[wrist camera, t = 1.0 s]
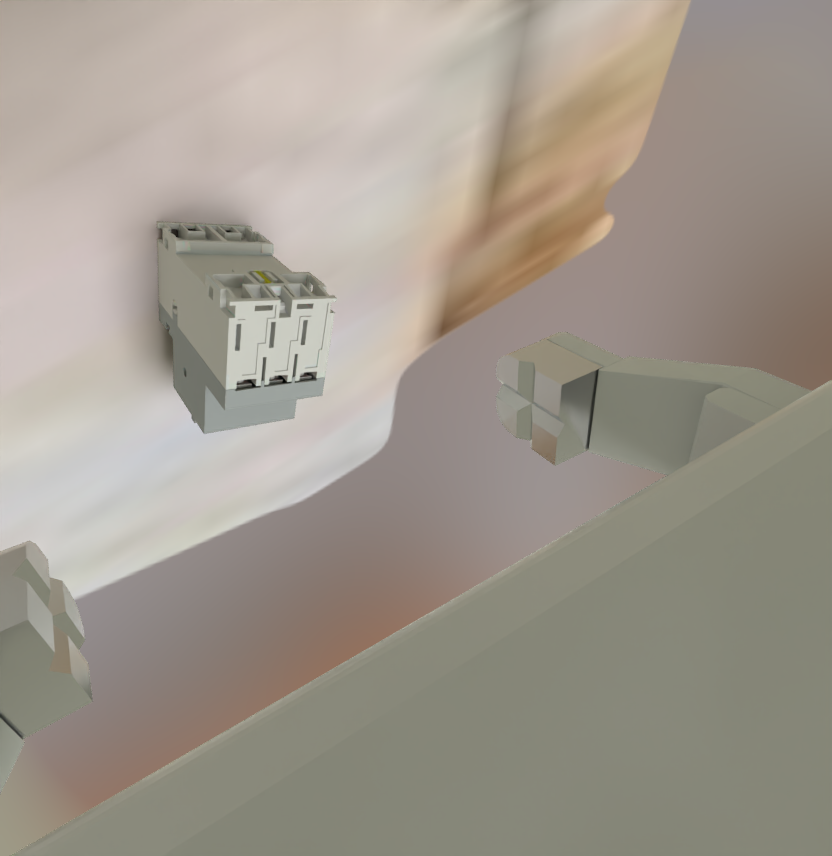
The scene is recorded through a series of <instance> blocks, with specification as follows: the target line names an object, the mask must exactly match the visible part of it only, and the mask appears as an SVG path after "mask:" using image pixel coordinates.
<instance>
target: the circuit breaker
mask: <svg viewBox="0 0 832 856" xmlns="http://www.w3.org/2000/svg"><path fill="white" fill-rule="evenodd" d="M157 228H159V229H162V239H157V251H158V292H159V320H160V322H161V323H162V324H163V326H164V327H165V329H169V334H170V336H171V337H172V338H173V379H174V388H175V390H176V391H177V393H178V394H179V396H180V397H181V399H182V401H183V402H184V404H185V405H186V407H187V408H188V410H189V411H190V413H191V415H192V420H193V421H194V423H197V424H198V425H199V427H200V429H201V430H202V432H203V433H204V434H207V433H213V432H218V431H224V430H230V429H236V428H241V427H247V426H253V425H258V424H264V423H270V422H276V421H281V420H287V419H293V418H294V416H295V408H296V400H297V399H303V398H309V397H316V396H322V393H323V387H324V380H325V374H326V367H327V361H328V354H329V347H330V341H331V334H332V327H333V321H334V314H335V313H334V312H333V311H332V310H331V302H336V301H337V298H336V297H335V296H334V295H331V296H329V295H328V294H327V292H326V286H325V285H324V284H323V283H322V282H321V281H320V280H318V279H317V278H316V277H314V276H313V275H312V274H311V273H309V272H292V271H291V270H289V269H288V268H287V267H286V266H285V265H283V264H282V263H281V262H280V261H278V260H277V259H276V258H275V257H274V256H272V253H274V250H273V244H272V243H271V242H270V241H269V240H267V239H266V238H265V237H263V236H262V235H261V234H260V233H258V232H253V231H252V227H251V226H237V225H217V224H196V223H176V222H157ZM171 229H178V238H177V237H176V236H175V235H174V234H173V233H171ZM188 229H196V231H189V230H188ZM224 230H230V231H231V232H226V231H224ZM311 285H313V291H312V292H311Z"/></svg>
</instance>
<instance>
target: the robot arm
mask: <svg viewBox="0 0 832 856" xmlns="http://www.w3.org/2000/svg"><path fill="white" fill-rule="evenodd" d="M496 378H497V379H498V380H499V381H500V382H501V383H502V386H501V388H500V390H499V392H498V394H497V396H496V406H497V413H498V416H499V418H500V421H501V423H502V425H503V426H504V427H505V428H506V430H507V431H508V432H509V433H511V434H512V435H513V436H515V437H516V438H520V439H525V440H530V444H531V448H532V450H534V451H535V452H537V453H538V454H539V455H541V456H542V457H543V458H545V459H546V460H548V461H549V462H550V463H552V464H553V465H555V466H556V465H558V464H560V463H562V462H564V461H566V460H568V459H570V458H572V457H574V456H577V455H579V454H581V453H583V452H585V451H587V450H589V452H590V453H593V454H597V455H600V456H604V457H607V458H611V459H614V460H617V461H621V462H624V463H628V464H631V465H634V466H638V467H641V468H644V469H648V470H651V471H655V472H658V473H662V474H665V475H667V476H665V477H664V478H662V479H660V480H658V481H657V482H655V483H653V484H651V485H650V486H648V487H647V488H645V489H643V490H641V491H639V492H638V493H636V494H635V495H632V496H631V497H629V498H627V499H625V500H624V501H622V502H620V503H619V504H617V505H615V506H613V507H612V508H610V509H608V510H607V511H605V512H603V513H601V514H600V515H598V516H596V517H594V518H593V519H591V520H589V521H587V522H586V523H584V524H582V525H580V526H579V527H577V528H575V529H574V530H572V531H570V532H568V533H567V534H565V535H563V536H561V537H560V538H558V539H556V540H554V541H553V542H551V543H549V544H548V545H546V546H544V547H542V548H541V549H539V550H537V551H536V552H534V553H532V554H531V555H529V556H527V557H525V558H523V559H522V560H520V561H518V562H516V563H515V564H513V565H511V566H510V567H508V568H506V569H505V570H503V571H501V572H499V573H497V574H496V575H494V576H492V577H491V578H489V579H487V580H486V581H484V582H482V583H480V584H479V585H477V586H475V587H473V588H472V589H470V590H468V591H467V592H465V593H463V594H461V595H460V596H458V597H456V598H454V599H453V600H451V601H449V602H448V603H446V604H444V605H443V606H441V607H439V608H437V609H435V610H434V611H432V612H430V613H428V614H427V615H425V616H423V617H422V618H420V619H418V620H417V621H415V622H413V623H411V624H409V625H408V626H406V627H404V628H403V629H401V630H399V631H397V632H396V633H394V634H392V635H391V636H389V637H387V638H385V639H384V640H382V641H380V642H379V643H377V644H375V645H374V646H372V647H370V648H368V649H366V650H365V651H363V652H361V653H359V654H358V655H356V656H354V657H353V658H351V659H349V660H347V661H346V662H344V663H342V664H340V665H339V666H337V667H335V668H334V669H332V670H330V671H329V672H327V673H325V674H324V675H322V676H320V677H318V678H317V679H315V680H313V681H311V682H309V683H308V684H306V685H304V686H302V687H301V688H299V689H297V690H296V691H294V692H292V693H290V694H289V695H287V696H285V697H283V698H282V699H280V700H279V701H277V702H275V703H273V704H271V705H270V706H268V707H266V708H264V709H263V710H261V711H259V712H258V713H256V714H254V715H253V716H251V717H249V718H247V719H245V720H244V721H242V722H240V723H239V724H237V725H235V726H233V727H232V728H230V729H228V730H227V731H225V732H223V733H221V734H220V735H218V736H216V737H215V738H213V739H211V740H209V741H208V742H206V743H204V744H202V745H201V746H199V747H197V748H196V749H194V750H192V751H190V752H189V753H187V754H185V755H183V756H182V757H180V758H178V759H177V760H175V761H173V762H171V763H170V764H168V765H166V766H164V767H163V768H161V769H159V770H158V771H156V772H154V773H152V774H151V775H149V776H147V777H145V778H144V779H142V780H140V781H138V782H137V783H135V784H134V785H132V786H130V787H128V788H126V789H125V790H123V791H121V792H120V793H118V794H116V795H114V796H113V797H111V798H109V799H108V800H106V801H104V802H102V803H100V804H99V805H97V806H95V807H94V808H92V809H90V810H88V811H87V812H85V813H83V814H82V815H80V816H78V817H76V818H75V819H73V820H71V821H69V822H68V823H66V824H64V825H62V826H61V827H59V828H57V829H56V830H54V831H52V832H50V833H49V834H47V835H45V836H44V837H42V838H40V839H38V840H37V841H35V842H33V843H31V844H30V845H28V846H26V847H25V848H23V849H21V850H20V851H18V852H16V853H14V854H12V855H11V856H832V380H831V381H829V382H827V383H826V384H824V385H822V386H821V387H819V388H817V389H815V390H814V391H810V390H808V389H805V388H803V387H800V386H798V385H795V384H793V383H790V382H788V381H785V380H783V379H780V378H778V377H775V376H773V375H770V374H768V373H766V372H763V371H760V370H758V369H756V368H746V367H736V366H725V365H714V364H704V363H692V362H683V361H673V360H662V359H652V358H641V357H631V356H629V357H627V358H624V359H623V358H621V357H619V356H617V355H615V354H613V353H610V352H608V351H606V350H604V349H602V348H600V347H598V346H595V345H593V344H591V343H589V342H587V341H585V340H583V339H580V338H578V337H576V336H574V335H572V334H570V333H568V332H558V333H556V334H554V335H552V336H549V337H547V338H544V339H542V340H540V341H539V342H536V343H534V344H532V345H529V346H527V347H524V348H522V349H520V350H517V351H514V352H512V353H510V354H507V355H505V356H502V357H500V358H499V361H498V363H497V366H496ZM84 641H85V635H84V629H83V623H82V620H81V617H80V614H79V611H78V608H77V605H76V603H75V602H74V599H73V598H72V596H71V594H70V592H69V590H68V589H67V587H66V586H65V584H64V583H63V581H61V580H57V579H54V578H50V577H49V567H48V559H47V558H46V557H45V555H44V554H43V553H42V551H41V550H40V549H39V547H38V546H37V545H36V544H35V543H33V542H31V541H27V542H24V543H22V544H19V545H16V546H13V547H11V548H8V549H5V550H3V551H0V793H1V791H2V789H3V787H4V785H5V783H6V780H7V779H8V776H9V774H10V772H11V770H12V768H13V766H14V764H15V762H16V760H17V758H18V756H19V754H20V751H21V749H22V747H23V745H24V743H25V742H24V741H23V739H24V738H26V737H28V736H30V735H32V734H34V733H36V732H37V731H39V730H41V729H43V728H45V727H47V726H48V725H50V724H52V723H54V722H56V721H58V720H60V719H62V718H63V717H65V716H67V715H69V714H71V713H73V712H75V711H76V710H78V709H80V708H82V707H84V706H86V705H87V704H89V703H91V702H93V699H92V691H91V682H90V674H89V666H88V663H87V661H86V660H85V658H84V657H83V656H82V654H81V653H80V652H79V649H80V647H81V646H82V644H83V642H84Z"/></svg>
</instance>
